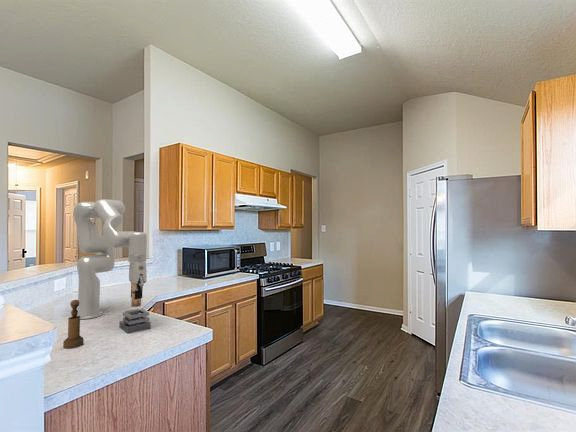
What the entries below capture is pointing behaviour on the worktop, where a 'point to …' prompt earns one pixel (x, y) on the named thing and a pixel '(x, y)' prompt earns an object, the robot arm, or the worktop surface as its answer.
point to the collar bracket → (135, 321)
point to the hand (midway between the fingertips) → (136, 297)
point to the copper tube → (134, 301)
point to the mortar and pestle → (73, 328)
